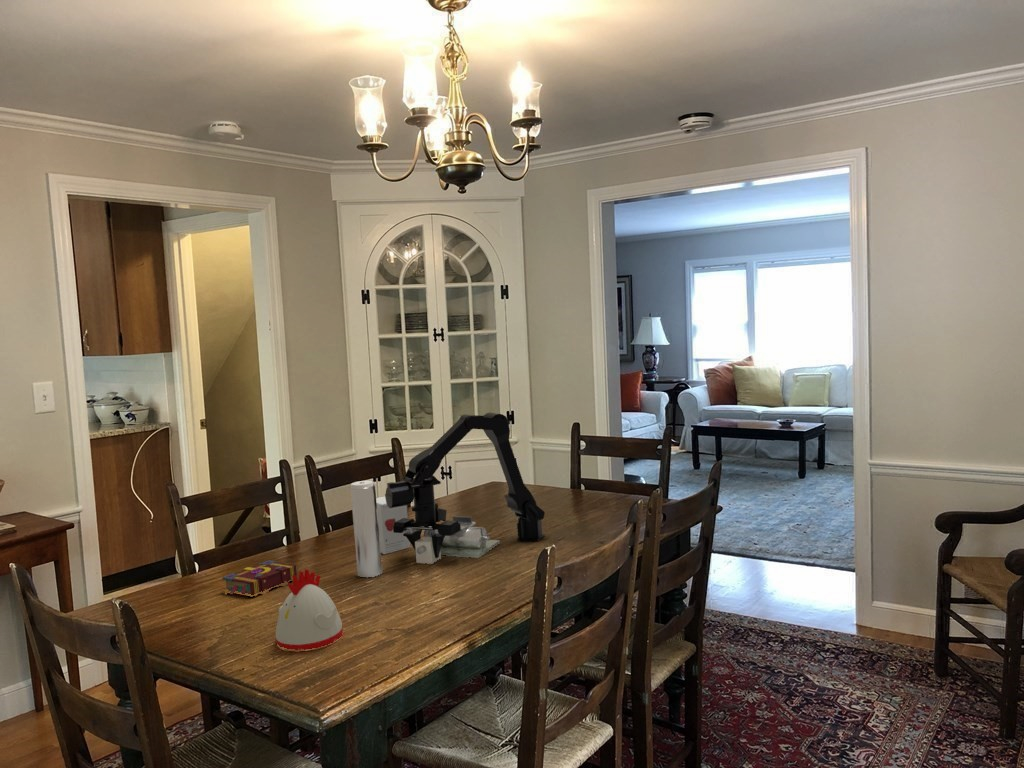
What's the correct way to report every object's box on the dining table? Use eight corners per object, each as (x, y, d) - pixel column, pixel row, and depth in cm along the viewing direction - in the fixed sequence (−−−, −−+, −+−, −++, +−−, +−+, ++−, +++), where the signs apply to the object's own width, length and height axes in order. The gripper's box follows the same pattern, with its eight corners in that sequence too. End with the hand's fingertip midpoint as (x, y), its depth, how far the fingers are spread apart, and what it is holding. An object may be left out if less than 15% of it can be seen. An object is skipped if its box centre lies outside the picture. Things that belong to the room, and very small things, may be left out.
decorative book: (298, 581, 208) (296, 562, 207) (249, 601, 194) (247, 582, 194) (269, 576, 214) (268, 558, 213) (219, 595, 200) (218, 576, 200)
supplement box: (384, 555, 226) (380, 504, 224) (369, 549, 232) (364, 500, 231) (411, 547, 231) (407, 498, 230) (395, 542, 238) (391, 494, 237)
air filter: (377, 578, 205) (369, 484, 203) (353, 578, 206) (345, 485, 204) (385, 570, 211) (378, 479, 209) (363, 570, 212) (355, 479, 210)
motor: (500, 543, 229) (498, 515, 228) (479, 558, 216) (477, 528, 216) (440, 540, 237) (438, 512, 237) (416, 553, 225) (414, 524, 224)
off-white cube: (441, 558, 218) (439, 537, 218) (428, 566, 212) (426, 544, 212) (425, 557, 220) (424, 536, 220) (412, 565, 214) (411, 543, 214)
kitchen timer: (262, 645, 166) (256, 576, 164) (312, 622, 177) (306, 557, 176) (307, 657, 158) (301, 585, 157) (356, 632, 169) (350, 564, 168)
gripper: (467, 496, 219) (471, 550, 221) (410, 494, 227) (414, 546, 228) (448, 505, 209) (452, 562, 210) (389, 503, 217) (394, 558, 218)
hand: (428, 557), depth 217 cm, fingers closed on off-white cube, 5 cm apart
